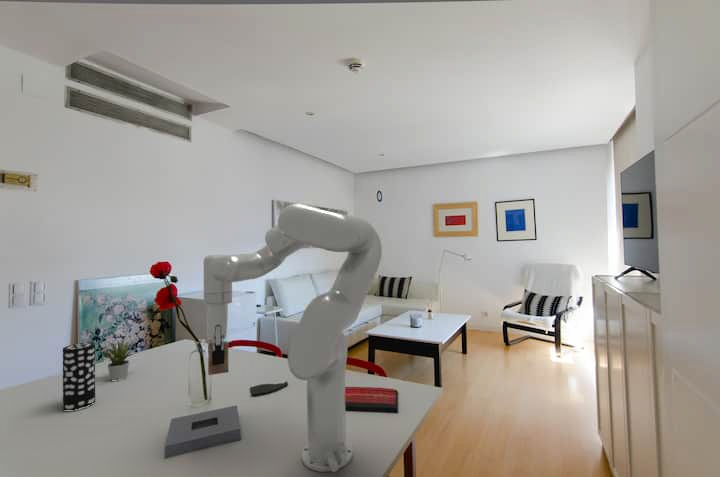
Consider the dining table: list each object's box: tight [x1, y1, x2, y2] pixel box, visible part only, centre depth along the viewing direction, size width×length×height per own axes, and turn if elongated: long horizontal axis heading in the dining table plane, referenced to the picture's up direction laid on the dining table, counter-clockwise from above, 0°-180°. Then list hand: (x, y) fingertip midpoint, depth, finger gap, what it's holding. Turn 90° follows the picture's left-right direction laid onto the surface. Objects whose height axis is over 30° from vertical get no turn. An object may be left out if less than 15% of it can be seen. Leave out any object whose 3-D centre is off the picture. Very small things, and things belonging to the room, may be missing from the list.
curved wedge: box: [249, 381, 289, 398], centre depth 120 cm, size 8×14×2 cm, turn 112°
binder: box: [345, 386, 399, 414], centre depth 111 cm, size 16×2×21 cm
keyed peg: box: [207, 340, 229, 376], centre depth 94 cm, size 5×3×8 cm, turn 113°
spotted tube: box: [62, 341, 96, 410], centre depth 111 cm, size 8×8×20 cm
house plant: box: [98, 337, 141, 381], centre depth 135 cm, size 14×14×16 cm
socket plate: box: [164, 404, 242, 459], centre depth 92 cm, size 14×18×3 cm
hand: (218, 361), depth 94 cm, fingers closed on keyed peg, 2 cm apart
